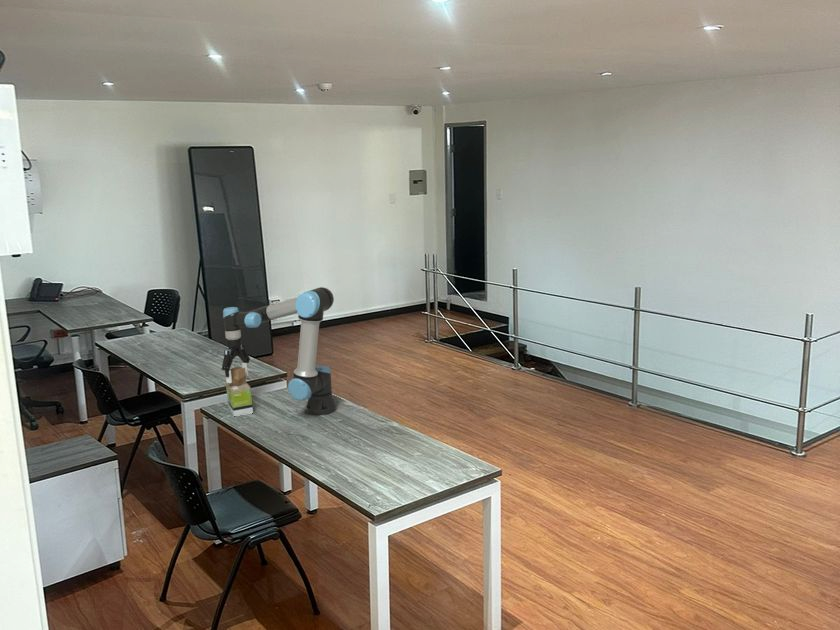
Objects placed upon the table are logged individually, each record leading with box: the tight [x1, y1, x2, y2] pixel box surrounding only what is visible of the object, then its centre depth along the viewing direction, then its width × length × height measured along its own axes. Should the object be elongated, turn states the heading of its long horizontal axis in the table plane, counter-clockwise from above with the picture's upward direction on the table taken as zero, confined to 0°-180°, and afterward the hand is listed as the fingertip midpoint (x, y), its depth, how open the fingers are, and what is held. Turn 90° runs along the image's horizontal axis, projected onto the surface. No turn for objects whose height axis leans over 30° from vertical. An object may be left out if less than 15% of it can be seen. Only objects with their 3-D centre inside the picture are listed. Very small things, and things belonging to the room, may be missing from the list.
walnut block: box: [229, 366, 247, 386], centre depth 383 cm, size 6×6×8 cm
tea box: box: [225, 382, 254, 417], centre depth 385 cm, size 15×10×15 cm
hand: (237, 379), depth 383 cm, fingers open, 13 cm apart
